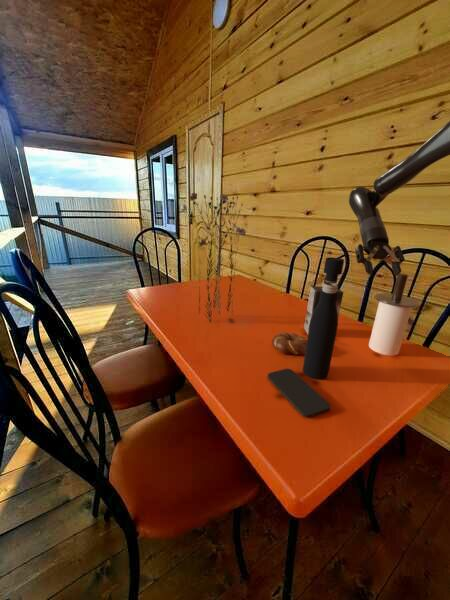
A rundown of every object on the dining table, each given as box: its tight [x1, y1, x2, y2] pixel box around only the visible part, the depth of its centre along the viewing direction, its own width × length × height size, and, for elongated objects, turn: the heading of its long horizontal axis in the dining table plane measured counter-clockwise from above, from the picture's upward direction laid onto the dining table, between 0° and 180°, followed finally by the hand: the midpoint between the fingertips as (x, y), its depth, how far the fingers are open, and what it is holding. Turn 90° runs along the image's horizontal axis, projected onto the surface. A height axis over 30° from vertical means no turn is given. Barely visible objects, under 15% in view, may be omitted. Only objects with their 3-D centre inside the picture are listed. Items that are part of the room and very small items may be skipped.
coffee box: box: [303, 285, 344, 335], centre depth 87 cm, size 9×6×16 cm
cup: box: [368, 301, 413, 357], centre depth 77 cm, size 8×8×16 cm
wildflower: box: [189, 192, 246, 323], centre depth 91 cm, size 22×23×45 cm
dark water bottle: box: [302, 257, 345, 381], centre depth 62 cm, size 6×6×30 cm
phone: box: [267, 368, 332, 418], centre depth 59 cm, size 7×1×15 cm
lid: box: [374, 272, 420, 309], centre depth 73 cm, size 11×11×8 cm
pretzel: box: [271, 332, 307, 356], centre depth 78 cm, size 12×11×4 cm
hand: (384, 273), depth 81 cm, fingers open, 8 cm apart
